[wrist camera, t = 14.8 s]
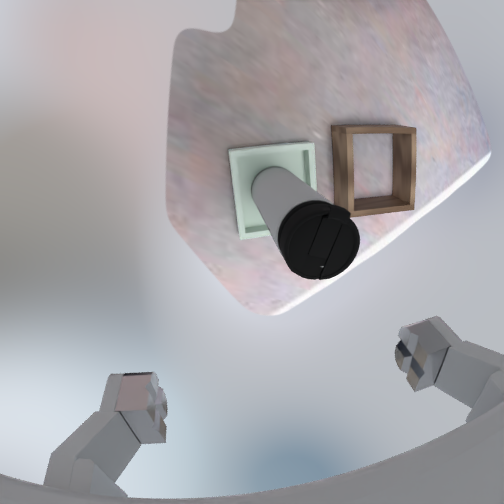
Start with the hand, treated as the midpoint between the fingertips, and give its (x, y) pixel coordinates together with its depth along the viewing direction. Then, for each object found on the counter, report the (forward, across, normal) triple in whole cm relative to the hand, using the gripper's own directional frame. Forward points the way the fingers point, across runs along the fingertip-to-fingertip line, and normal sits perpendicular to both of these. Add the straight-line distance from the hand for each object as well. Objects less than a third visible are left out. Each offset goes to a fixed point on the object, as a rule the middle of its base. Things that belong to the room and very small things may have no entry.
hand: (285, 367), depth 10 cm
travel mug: (+34, -6, +3) cm, 34 cm away
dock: (+34, -6, +3) cm, 35 cm away
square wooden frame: (+34, -20, +1) cm, 39 cm away
